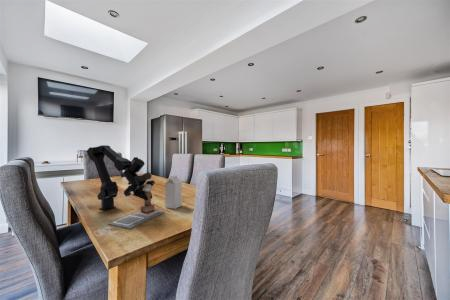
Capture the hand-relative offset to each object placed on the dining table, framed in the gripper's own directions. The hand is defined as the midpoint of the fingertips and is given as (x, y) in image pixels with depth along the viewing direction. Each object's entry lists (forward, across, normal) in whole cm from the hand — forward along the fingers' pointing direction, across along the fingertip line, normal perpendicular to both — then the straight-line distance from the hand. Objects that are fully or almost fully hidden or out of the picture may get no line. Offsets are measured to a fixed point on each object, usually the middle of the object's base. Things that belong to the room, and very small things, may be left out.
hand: (149, 199), depth 101 cm
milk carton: (+10, +16, +2) cm, 19 cm away
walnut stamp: (+4, 0, +6) cm, 7 cm away
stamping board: (+4, -6, +8) cm, 11 cm away
